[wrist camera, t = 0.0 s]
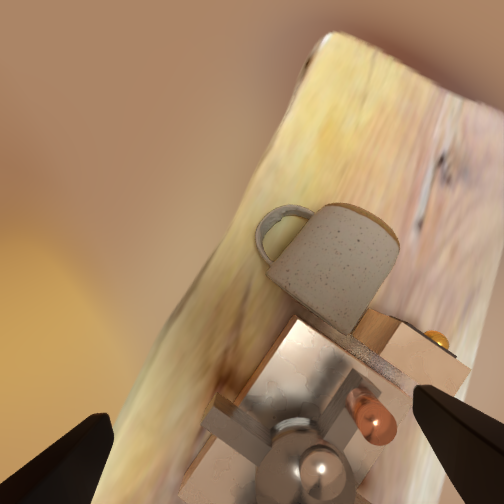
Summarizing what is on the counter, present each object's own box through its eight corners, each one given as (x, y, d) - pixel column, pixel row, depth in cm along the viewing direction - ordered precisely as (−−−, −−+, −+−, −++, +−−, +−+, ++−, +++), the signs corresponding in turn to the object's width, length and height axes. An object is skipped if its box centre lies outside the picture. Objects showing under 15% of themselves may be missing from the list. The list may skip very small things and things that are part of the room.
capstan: (329, 625, 18) (353, 741, 13) (148, 490, 18) (116, 560, 14) (451, 436, 18) (511, 490, 14) (272, 311, 19) (277, 325, 14)
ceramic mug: (376, 253, 22) (437, 247, 15) (326, 322, 22) (362, 353, 15) (286, 189, 23) (300, 152, 15) (236, 256, 23) (226, 252, 15)
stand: (291, 553, 21) (302, 642, 16) (184, 474, 22) (163, 537, 17) (434, 336, 22) (486, 358, 17) (328, 263, 22) (349, 264, 17)
